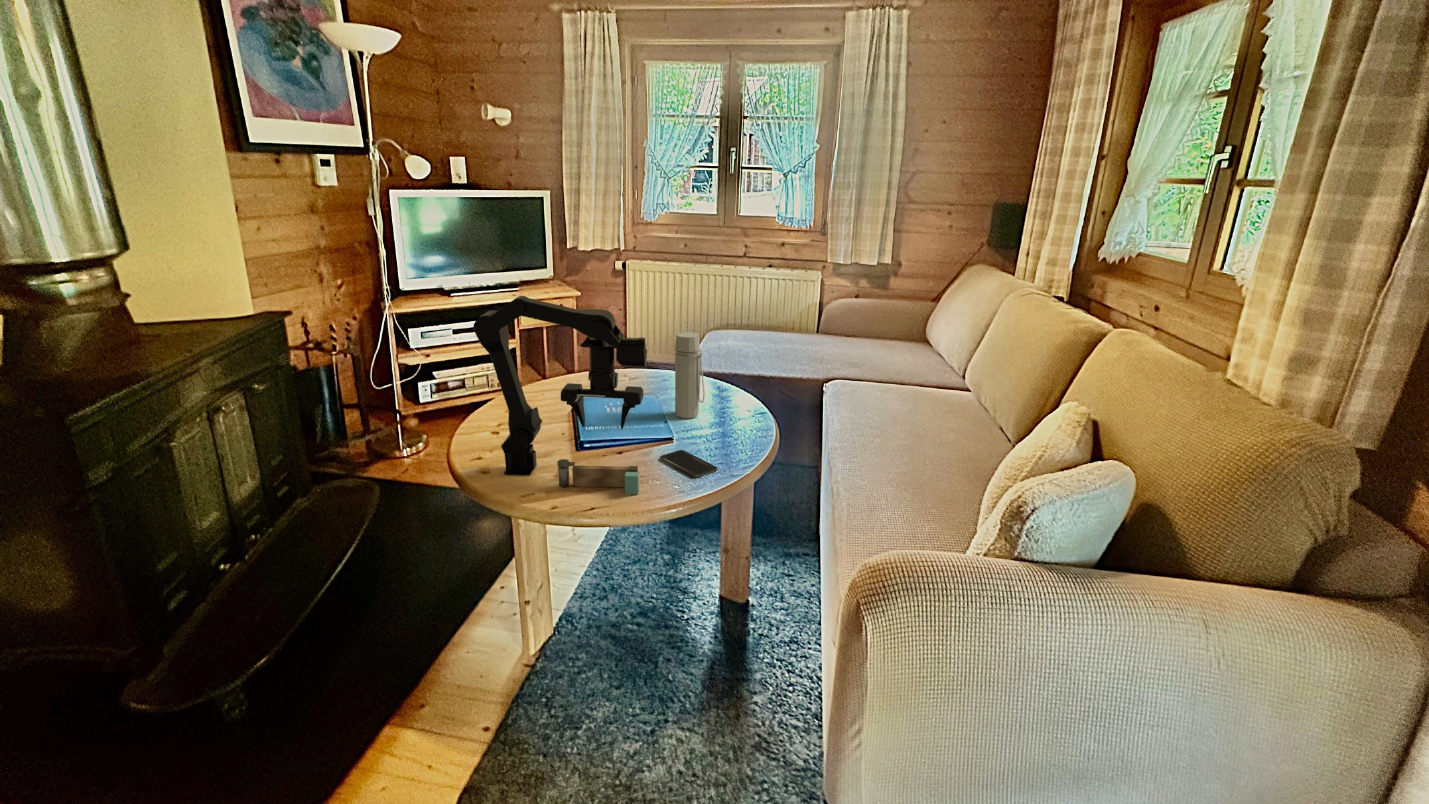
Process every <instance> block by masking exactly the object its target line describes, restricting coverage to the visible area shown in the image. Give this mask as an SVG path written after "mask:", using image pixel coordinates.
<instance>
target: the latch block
mask: <svg viewBox="0 0 1429 804" xmlns="http://www.w3.org/2000/svg"><path fill="white" fill-rule="evenodd" d="M639 493H640V472H639V471H638V472H626V473H625V487H624V494H625V495H639Z"/></svg>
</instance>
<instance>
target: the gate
mask: <svg viewBox="0 0 1429 804" xmlns="http://www.w3.org/2000/svg"><path fill="white" fill-rule="evenodd" d="M566 466H569V467H572V468H571V470H572V486H573V487H600V488H601V487H605V488H606V487H607V488H608V487H610V488H611V487H613V488H615V487H616V488H625V473H626V472H639V465H629V466H621V465H620V466H619V465H618V466H617V465H616V466H613V465H609V466H608V465H607V466H606V465H576V462H575V461H569V460H568V459H566V458H564V459H559V460H557V467H566Z"/></svg>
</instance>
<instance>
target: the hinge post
mask: <svg viewBox="0 0 1429 804" xmlns="http://www.w3.org/2000/svg"><path fill="white" fill-rule="evenodd" d="M569 467H570V466H566V467H559V466H557V470H558V471H557V473H558V485H559V488H562V489H566V488H569V487H570V485H571V484H570V483H571V482H570V468H569Z"/></svg>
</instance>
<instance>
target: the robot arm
mask: <svg viewBox="0 0 1429 804" xmlns="http://www.w3.org/2000/svg"><path fill="white" fill-rule="evenodd" d="M520 317H525V318H530V319H534V320H536V321H537V320H538V321H541V322H547V323H551V324H555V325H560V326H562V327H563V326H564V327H568V328H572V329H574V330H576V331H577V332H579V333H580V334H583V335H585V336H586V337H585V339H583V341H582V342H581V343H580V345H579V346H580V348H588V351H589V352H588V353H589V355H588V357H589V358H588V359H589V360H588V361H589V369H588V377H587V378H588V381H589V387H590V388H583V384H582V383H571V382H570V383H569V382H567V383H566V384H565V385H564V387H562V389H561V390H560V401H562V402H566V403H565V404H566V405H567V406H570V407H571V408H572V410H573V411H574V413H575V414H576V416H577V418H578V421H579V423H580V425H581V426H582V428H585V427H586V414H585V406H584V405H585V404H584V402H585V401H584V400H585V399H584V398H598V399H600V398H603V399H621V400H623V404H622V405H621V415H620V430H623V429H624V426H625V425H626V420H627V417H628V415H629V412H630V410H631V409H635V408H636V406H639V405H641V404H642V401H643V399H644V389H643V387H642V386H628V385H627V386H626V387H625V389H624V390H620V389H619V390H617V387H618V382H619V380H618V379H619V373H618V372H616V370H615V368H616V367H615V357H616V362H617V363H618V365H620V366H621V368H622V367H623V368H625V367H628V368H630V367H631V368H646V367H647V361H648V359H647V358H648V357H647V356H648V349H647V343H646V338H645V337H625V335H624V333H623V332H622V331H621V330H620V329H619V327H618V326H617V324H616V317H615V316H614V314H612V312H611V311H609V310H607V309H597V308H596V309H595V308H587V309H585V308H584V309H581V308H577V309H576V308H574V307H573V308H572V307H568V306H565V305H561V304H556V303H551V302H547V301H543V300H538V299H534V298H530V297H527V296H526V295H519V296H517V297H515V298H514V299H512V300H511V301H510V302H509V303H507V304H506V305H505V306H503V307H502V308H500V309H499V310H493V309H491V310H488V311H486V312H485V313H483V314H481V315H480V316H478V318H476V319H475V321H474V323H473V326H472V327H473V331H474V334H475V335H476V338H477V339H478V342H479V343H480V345H481V346H482V348H484V350H485V351H486V352H487V353H488V354H489V356H490V359H491V363H492V365H493V369H494V371H495V374H496V377H497V380H498V383H499V387H500V389H501V392H502V394H503V395H502V396H503V399H504V400H505V404H506V406H507V410H508V423H507V426H508V431H509V434H508V436H507V437H506V438H505V439H504V441H503V443H501V447H500V448H501V449H502V451H503V454H504V463H505V470H504V471H503V475H504V476H530V475H532V473H533V472H534V471H535V469H536V467H537V451H536V450H534V444H533V442H534V440H535V438H536V437H537V435H538V434H539V433H540V431H541V427H542V425H541V424H542V423H543V419H541V417H540V414H539V409H538V406H536V407H533V408H532V407H531V406H530V405H529V404H528V402H527V399H526V395H525V393H524V390H523V387H522V384H521V381H520V377H519V375H518V372H517V368H516V366H515V362H514V359H513V357H512V353H511V350H510V345H509V343H510V332H509V324H510V323H512V322H513V321H515V320H516V319H518V318H520ZM615 349H616V350H615ZM615 351H616V352H615Z"/></svg>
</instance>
